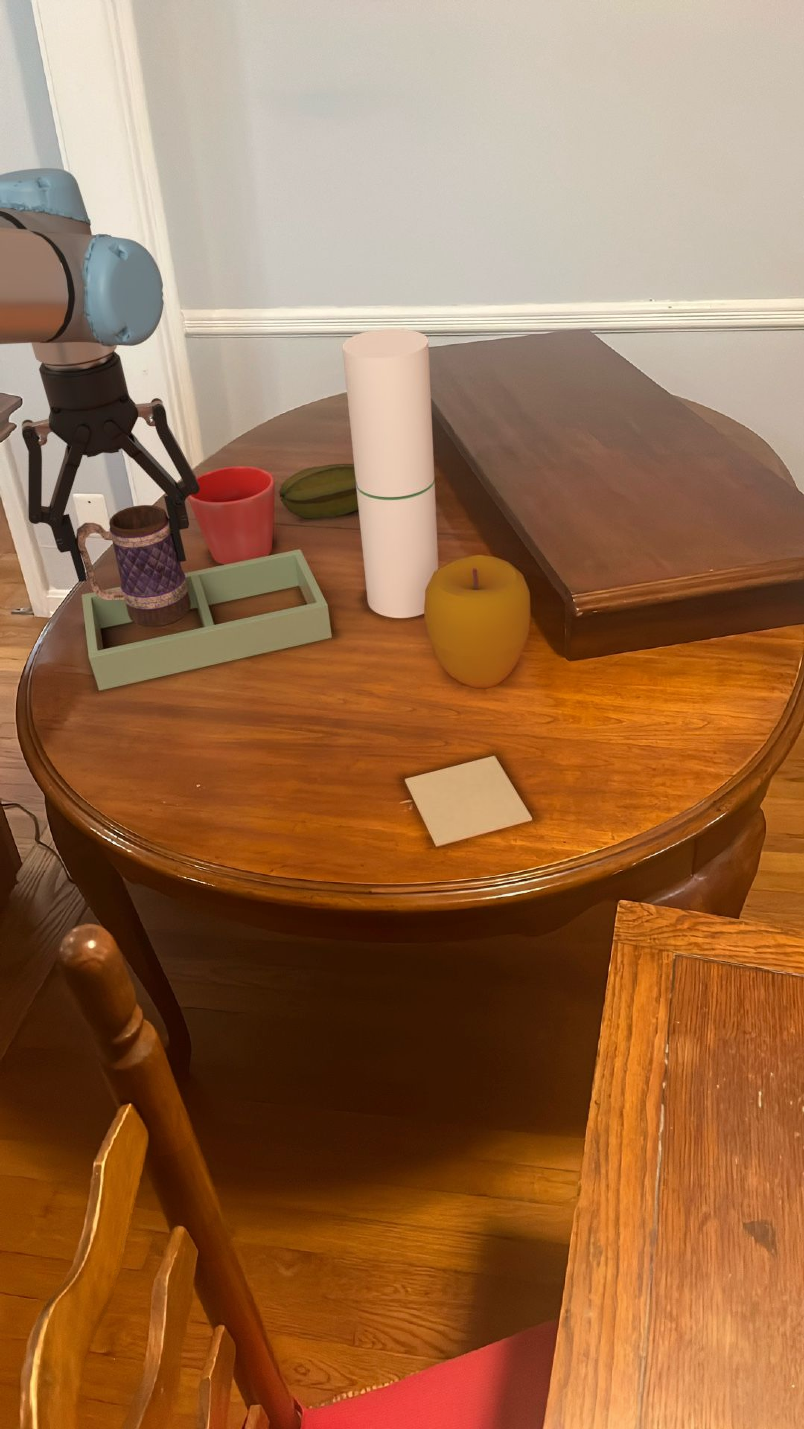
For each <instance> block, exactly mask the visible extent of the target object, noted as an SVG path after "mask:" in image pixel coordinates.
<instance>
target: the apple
mask: <svg viewBox="0 0 804 1429" xmlns="http://www.w3.org/2000/svg"><path fill="white" fill-rule="evenodd" d="M423 615H424V616H423V617H424V624H425V627H426V631H427V635H428V638H429V641H430V644H431V647H432V650H433V653H434V654H435V656H436V658H437V660H438V662H439V663H440V665H441V667H442V668H443V669H444V671H445V672H446V673H447V674H448V675H449V677H451V678H453V679H455V680H456V681H457V682H459V683H461V684H463V685H465V686H468V687H471V688H472V689H489V688H492V687H494V686H497V685H500V684H502V682H503V681H505V680H506V679H507V678H508V677H509V676H510V675H511V673H512V671H513V670H514V669H515V667H516V666H517V664H518V663H519V660H520V658H521V656H522V654H523V652H524V650H525V647H526V644H527V641H528V637H529V634H530V626H531V625H530V624H531V593H530V589H529V587H528V585H527V582H526V580H525V576H524V575H523V573H522V572H520V571H519V570H518V569H517V568H516V567H515V566H513V564H511V563H510V562H509V561H508V560H507V561H506V560H504V559H502V558H499V557H496V556H489V555H484V554H483V555H482V554H475V555H470V556H469V555H468V556H466V557H462V558H459V559H456V560H453V561H451V562H449V563H447V564H446V565H444V566H442V567H440V568H438V570H437V571H435V572H434V573H433V575H432V577H431V579H430V581H429V583H428V585H427V587H426V590H425V603H424V614H423Z"/></svg>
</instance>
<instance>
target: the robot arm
mask: <svg viewBox="0 0 804 1429" xmlns="http://www.w3.org/2000/svg"><path fill="white" fill-rule="evenodd" d="M83 198H84V197H83V196H82V192H81V190H80V185H79V183H78V181H77V178H76V177H75V176H74V175H73V174H72V173H70V172H69V171H67V170H65V169H62V168H52V167H43V168H42V167H41V168H39V167H38V168H28V169H21V170H14V171H9V172H5V173H2V174H0V345H11V344H12V345H13V344H15V345H17V344H30V345H31V348H32V351H33V354H34V358H35V359H36V361H37V362H39V363H41V364H40V366H39V368H38V371H39V374H40V378H41V382H42V385H43V389H44V392H45V395H46V396H45V397H46V400H47V403H48V406H49V415H48V418H45V419H41V420H38V421H33V420H32V419H25V420H23V421H22V422H21V436H22V439H23V441H24V444H25V446H26V449H27V451H28V454H27V458H28V464H27V465H28V468H27V469H28V470H27V471H28V474H27V475H28V476H27V478H28V482H27V486H28V487H27V488H28V489H27V490H28V491H27V494H28V495H27V498H28V499H27V501H28V502H27V503H28V505H27V510H28V511H27V512H28V521H29V523H31V524H33V525H38V524H46V525H48V526H49V527H50V529H51V531H52V532H51V533H52V535H53V538H54V541H55V544H56V548H57V550H58V551H59V553H62V554H63V553H68V552H69V553H70V556H71V559H72V563H73V566H74V570H75V572H76V577H77V579H78V582H79V583H82V582H86V581H87V572H86V568H85V565H84V561H83V558H82V556H81V553H80V551H79V548H78V546H77V543H76V533H75V530H74V526H73V523H72V519H71V516H70V514H69V513H66V514H65V512H66V509H67V505H68V502H69V499H70V496H71V492H72V489H73V486H74V482H75V479H76V475H77V472H78V469H79V467H80V466H81V463H82V459H83V457H84V456H85V457H87V458H92V457H96V456H98V455H101V454H115V453H120V450H121V449H122V450H123V452H124V453H125V454H126V455H127V456H128V457H129V458H130V459H132V460H133V461H134V462H135V463H136V464H137V465H138V466H139V467H140V468H141V469H142V470H143V471H144V472H145V473H146V475H148V477H149V478H150V479H151V480H152V481H153V482H154V483H155V484H156V485H157V486H158V487H159V488H160V490H162V491H163V492H164V494H166V495H164V496H163V498H164V503H165V507H166V513H167V517H168V518H169V521H170V524H171V531H172V534H173V538H174V542H175V546H176V551H177V555H178V559H179V562H180V563H182V562H186V561H187V558H186V553H185V548H184V544H183V540H182V534H181V530H186V529H189V526H190V521H189V520H190V519H189V515H188V512H187V507H186V500H187V499H188V496H190V495H191V494H197V493H198V492H199V491H200V487H199V484H198V481H197V479H196V478H197V477H196V474H195V473H194V471H193V469H192V467H191V465H190V463H189V462H188V460H187V458H186V456H185V454H184V451H183V450H182V449H181V446H180V445H179V443H178V441H177V439H176V437H175V435H174V433H173V432H172V430H171V427H170V426H169V423H168V417H167V411H166V408H165V404H164V403H163V400H162V399H161V398H159V397H155V398H153V399H152V400H151V401H150V402H143V403H135V401H134V400H133V398H132V397H130V396H131V395H130V394H129V393H130V392H129V390H128V385H127V381H126V376H125V371H124V366H123V364H122V358H121V356H120V355H119V353H117V352H116V350H117V348H118V346H124V347H125V346H127V347H131V346H132V347H133V346H138V345H141V344H143V343H144V342H147V340H149V339H150V337H152V335H153V334H154V333H155V331H156V330H157V328H158V326H159V324H160V322H161V319H162V315H163V310H164V305H165V304H164V299H163V297H164V291H163V289H164V282H163V278H162V273H161V270H160V268H159V266H158V264H157V262H156V260H155V258H154V257H153V255H152V254H151V252H150V251H149V250H148V249H147V248H146V247H145V246H143V245H142V244H141V243H139V242H137V241H136V240H134V239H130V238H126V237H125V238H124V237H117V236H112V235H111V234H107V233H97V234H92V228H91V225H92V222H91V219H90V218H89V215H88V212H87V209H86V206H85V202H84V199H83ZM139 418H142V419H143V420H144V421H145V423H146V425H147V426H149V427H154V428H155V430H156V433H157V436H158V438H159V440H160V441H161V443H162V445H163V447H164V449H165V451H166V453H167V454H168V456H169V458H170V460H171V461H172V464H173V466H174V467H175V469H176V471H177V474H179V476H180V479H181V481H179V482H177V481H176V480H175V479H174V477H172V475H171V474H170V473H169V472H168V471H167V470H166V469H165V467H163V466H162V465H161V464H160V462H158V461H157V459H156V458H155V457H154V456H153V455H152V453H150V452H149V450H148V449H147V448H146V447H145V446H144V445H143V444H142V443H141V442H140V441H139V439H138V437H136V436H135V434H134V433H133V432H132V431H133V429H134V428H135V426H136V423H137V421H138V419H139ZM50 433H53V434H54V435H55V436H56V437H58V438H59V439H60V440H61V441H63V442H64V443H65V444H66V446H65V450H64V456H63V460H62V462H61V466H60V469H59V471H58V476H57V479H56V482H55V486H54V488H53V492H52V495H51V499H50V501H49V502H50V503H49V505H47V506H45V505H42V501H43V499H42V498H43V496H42V494H43V492H42V490H43V452H42V451H43V450H42V446H45V445H46V444H47V443H48V435H49V434H50Z"/></svg>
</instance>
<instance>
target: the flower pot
mask: <svg viewBox="0 0 804 1429" xmlns="http://www.w3.org/2000/svg"><path fill="white" fill-rule="evenodd" d="M196 479H197V481H198V484H199V487H200V491H199V492H198V493H197V494H191V495H190V496H188V497H187V499H188V502H189V504H190V507H191V509H192V512H193V514H194V516H195V519H196V521H197V524H198V526H199V529H200V532H201V534H202V536H203V538H204V541H205V543H206V545H207V548H208V549H209V552H210V554H211V557H212V559H213V560H214V561H215V562H216V563H218V564H220V565H227V564H231V563H236V562H241V561H246V560H251V559H255V558H260V557H265V556H270V554H271V552H272V550H273V539H274V526H275V523H274V522H275V498H276V497H275V494H276V492H275V491H276V490H275V488H276V487H275V483H276V482H275V478H274V475H272V474H271V473H270V471H269V472H268V471H267V470H265V469H262V468H259V467H255V466H254V467H253V466H229V467H227V466H226V467H222V468H218V469H214V470H211V471H208V472H205V473H202V474H201V475H199V476H197V477H196Z"/></svg>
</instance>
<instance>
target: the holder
mask: <svg viewBox="0 0 804 1429" xmlns="http://www.w3.org/2000/svg"><path fill="white" fill-rule="evenodd" d="M184 574H185V577H186V581H187V584H188V594H189V598H190V602H191V608H190V610H192V609H197V610H198V611H197V612H198V614H199V618H200V621H201V624H202V627H199V628H195V629H194V628H193V629H189V630H185V631H181V632H176V633H172V634H167V635H163V636H157V637H154V638H148V639H145V640H140V641H135V642H131V643H127V644H122V645H116V646H112V647H108V648H104V645H103V637H102V629H105V628H109V627H114V626H119V625H124V624H128V623H134V622H133V621H131V619H130V617H129V615H128V611H127V606H126V603H125V601H124V600H106V599H102V598H99V597H98V596H97V595H96V594H95V592H94V591H93V592H88V593H84V594H81V601H82V610H83V618H84V627H85V636H86V637H85V638H86V645H87V654H88V660H89V663H90V666H91V669H92V672H93V676H94V679H95V681H96V685H97V688H98V691H104V690H108V689H112V688H113V689H114V688H117V687H121V686H125V685H130V684H134V683H139V682H143V681H148V680H152V679H157V678H160V677H166V676H169V675H174V674H178V673H183V672H186V671H192V670H197V669H200V668H204V667H208V666H214V665H217V664H222V663H226V662H230V661H235V660H240V659H243V658H249V657H252V656H257V655H261V654H262V655H263V654H266V653H271V652H275V651H279V650H284V649H287V648H292V647H296V646H301V645H305V644H310V643H313V642H318V641H323V640H327V639H332V637H333V636H332V635H333V634H332V628H331V620H330V612H329V611H330V610H329V604H328V603H327V600H326V599H325V597H324V595H323V593H322V590H321V589H320V586H319V585H318V582H317V580H316V578H315V576H314V574H313V572H312V569H311V568H310V566H309V564H308V562H307V559H306V558H305V556H304V553H303V552H302V549H300V548H299V549H294V550H290V551H285V552H280V553H279V552H278V553H275V554H271V555H270V554H269V555H268V556H265V557H260V558H255V559H251V560H246V561H241V562H236V563H231V564H227V565H223V564H221V565H217V566H213V567H208V568H203V569H199V570H193V571H188V572H184ZM294 587H299V589H300V591H301V593H302V595H303V598H304V600H305V602H306V604H304V605H299V606H295V607H289V608H286V609H281V610H276V611H271V612H267V613H262V614H257V615H253V616H249V617H244V618H240V619H236V620H231V621H226V622H222V623H218V624H215V622H214V619H213V616H212V613H211V609H210V607H209V606H211V605H216V604H221V603H225V602H230V601H234V600H238V599H239V600H240V599H244V598H248V597H252V596H258V595H261V594H266V593H271V592H276V591H281V590H286V589H290V588H294ZM120 589H121V586H117V587H112V588H108V589H106V590H107V591H110V590H120Z"/></svg>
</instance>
